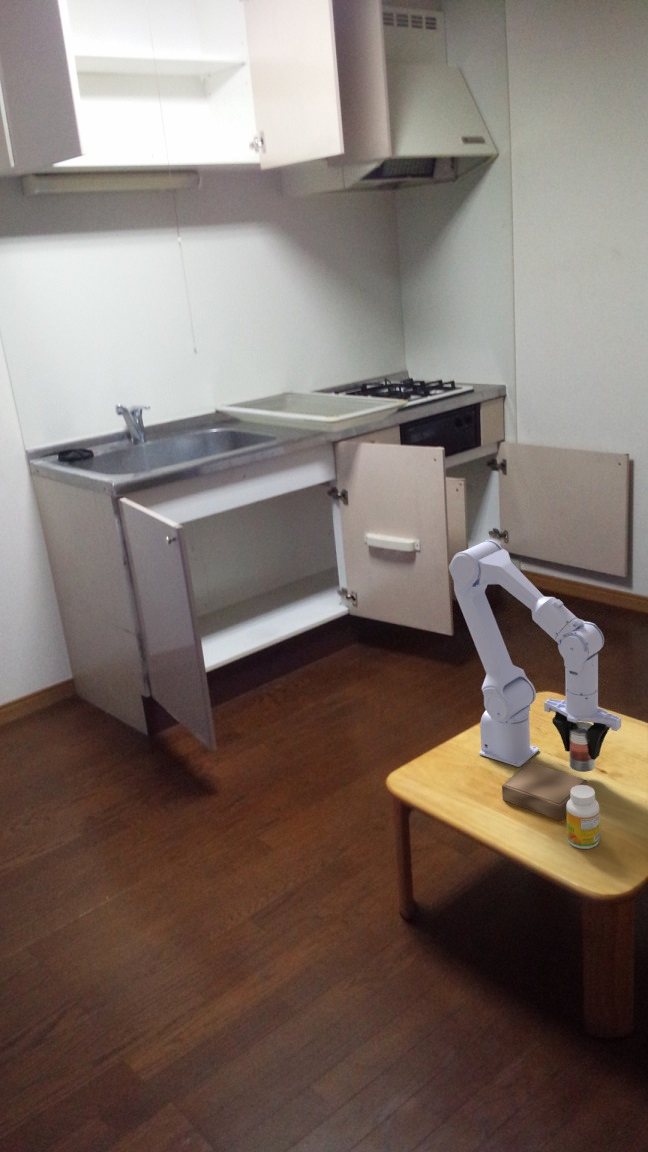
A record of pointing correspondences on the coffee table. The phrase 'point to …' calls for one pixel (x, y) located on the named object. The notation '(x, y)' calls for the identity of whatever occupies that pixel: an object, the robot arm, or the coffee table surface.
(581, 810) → the supplement bottle
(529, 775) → the brown rectangular block
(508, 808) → the coffee table surface
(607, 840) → the coffee table surface
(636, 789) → the coffee table surface
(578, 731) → the tin can
